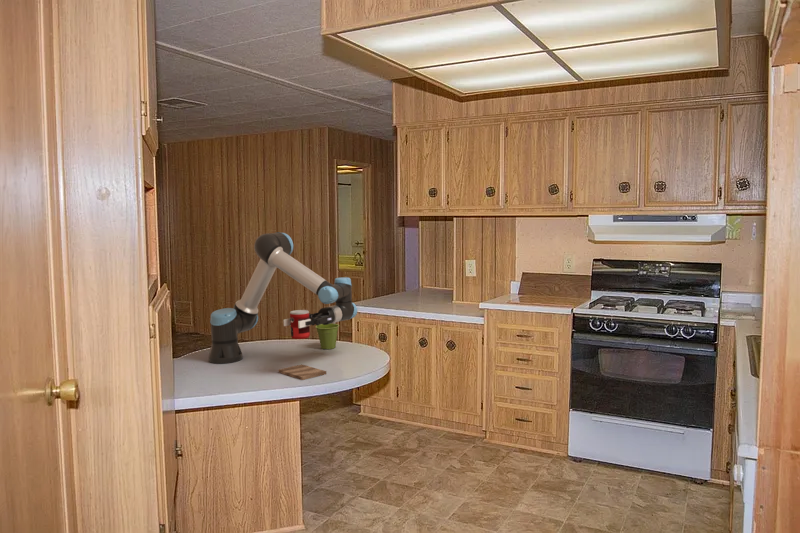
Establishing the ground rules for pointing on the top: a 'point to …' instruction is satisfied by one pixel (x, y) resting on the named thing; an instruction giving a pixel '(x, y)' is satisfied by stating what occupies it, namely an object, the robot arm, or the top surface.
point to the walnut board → (302, 372)
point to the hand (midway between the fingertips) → (291, 323)
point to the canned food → (294, 318)
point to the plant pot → (327, 335)
